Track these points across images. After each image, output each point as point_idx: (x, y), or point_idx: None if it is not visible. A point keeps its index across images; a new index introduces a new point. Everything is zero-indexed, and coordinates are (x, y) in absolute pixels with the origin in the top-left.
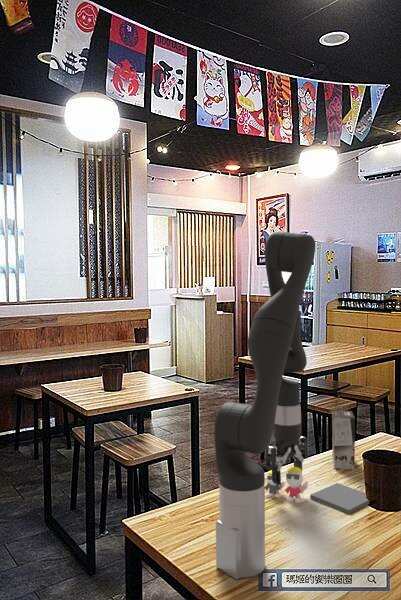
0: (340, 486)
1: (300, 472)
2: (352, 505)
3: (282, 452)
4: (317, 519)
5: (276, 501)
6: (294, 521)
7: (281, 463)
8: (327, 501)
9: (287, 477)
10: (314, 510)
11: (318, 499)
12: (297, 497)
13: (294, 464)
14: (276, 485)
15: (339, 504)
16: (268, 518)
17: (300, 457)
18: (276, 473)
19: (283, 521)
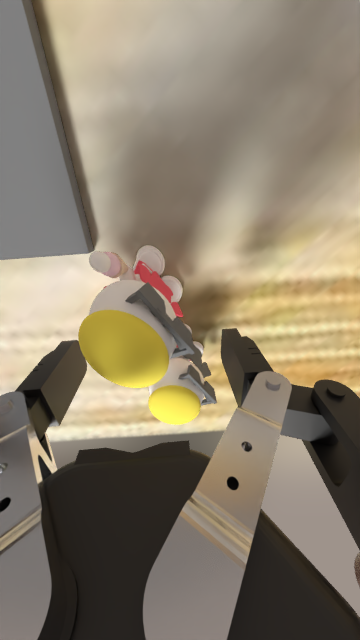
0: None
1: (110, 310)
2: None
3: (280, 550)
4: (223, 43)
5: (216, 306)
6: (315, 122)
7: (257, 414)
8: (57, 135)
9: (189, 333)
10: (158, 145)
11: (78, 202)
12: (151, 270)
13: (66, 405)
14: (187, 355)
15: (11, 40)
16: (350, 223)
17: (6, 428)
18: (265, 369)
19: (342, 160)
